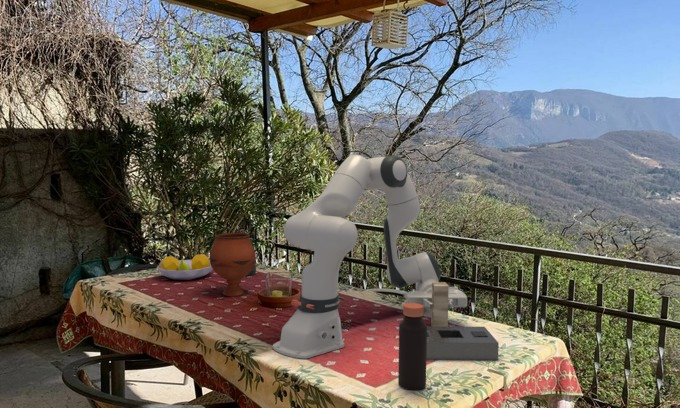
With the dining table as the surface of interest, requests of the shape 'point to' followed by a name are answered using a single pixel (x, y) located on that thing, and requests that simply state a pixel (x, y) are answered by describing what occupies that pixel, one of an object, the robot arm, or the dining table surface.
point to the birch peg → (439, 304)
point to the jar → (252, 271)
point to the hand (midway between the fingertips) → (440, 306)
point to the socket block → (460, 343)
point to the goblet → (232, 259)
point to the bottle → (412, 348)
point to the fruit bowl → (185, 267)
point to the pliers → (341, 298)
